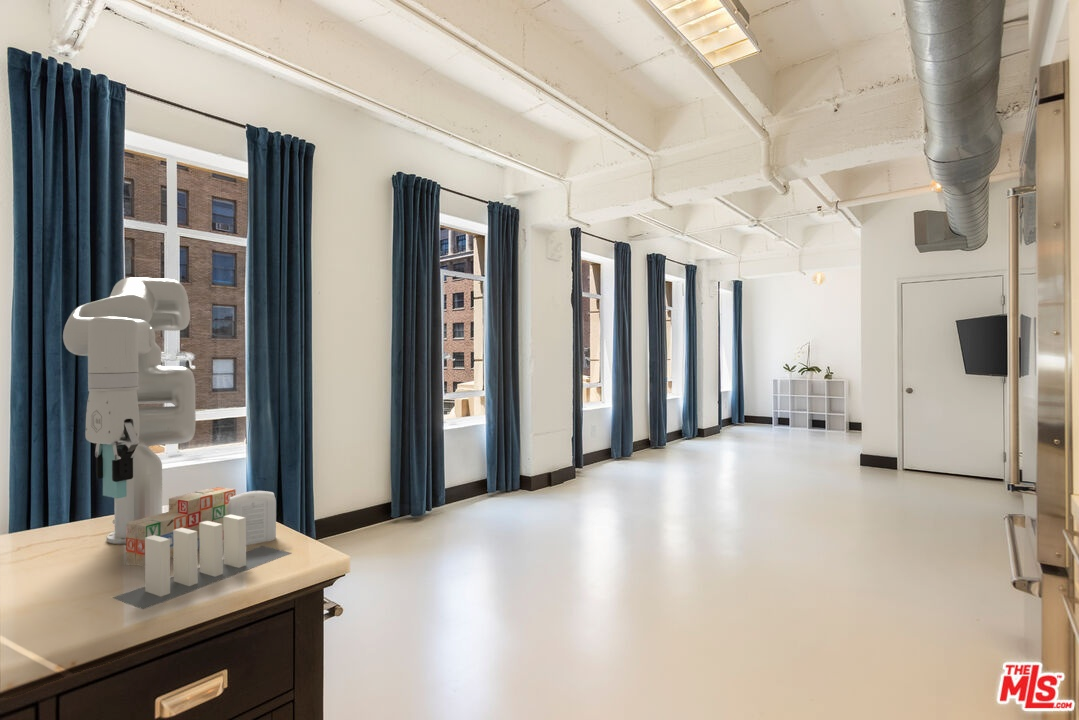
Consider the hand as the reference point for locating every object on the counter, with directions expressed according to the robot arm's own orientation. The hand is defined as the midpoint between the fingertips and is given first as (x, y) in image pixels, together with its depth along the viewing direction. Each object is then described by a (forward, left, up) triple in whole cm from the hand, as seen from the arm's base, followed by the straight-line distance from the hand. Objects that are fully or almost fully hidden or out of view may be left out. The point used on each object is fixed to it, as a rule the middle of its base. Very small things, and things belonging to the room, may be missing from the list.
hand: (114, 477), depth 103 cm
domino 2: (+10, +2, -21) cm, 23 cm away
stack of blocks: (-10, +18, -22) cm, 30 cm away
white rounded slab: (0, +28, -22) cm, 36 cm away
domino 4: (+10, +12, -21) cm, 26 cm away
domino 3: (+10, +7, -21) cm, 24 cm away
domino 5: (+10, +17, -21) cm, 29 cm away
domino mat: (+10, +12, -21) cm, 26 cm away
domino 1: (0, 0, -4) cm, 4 cm away
